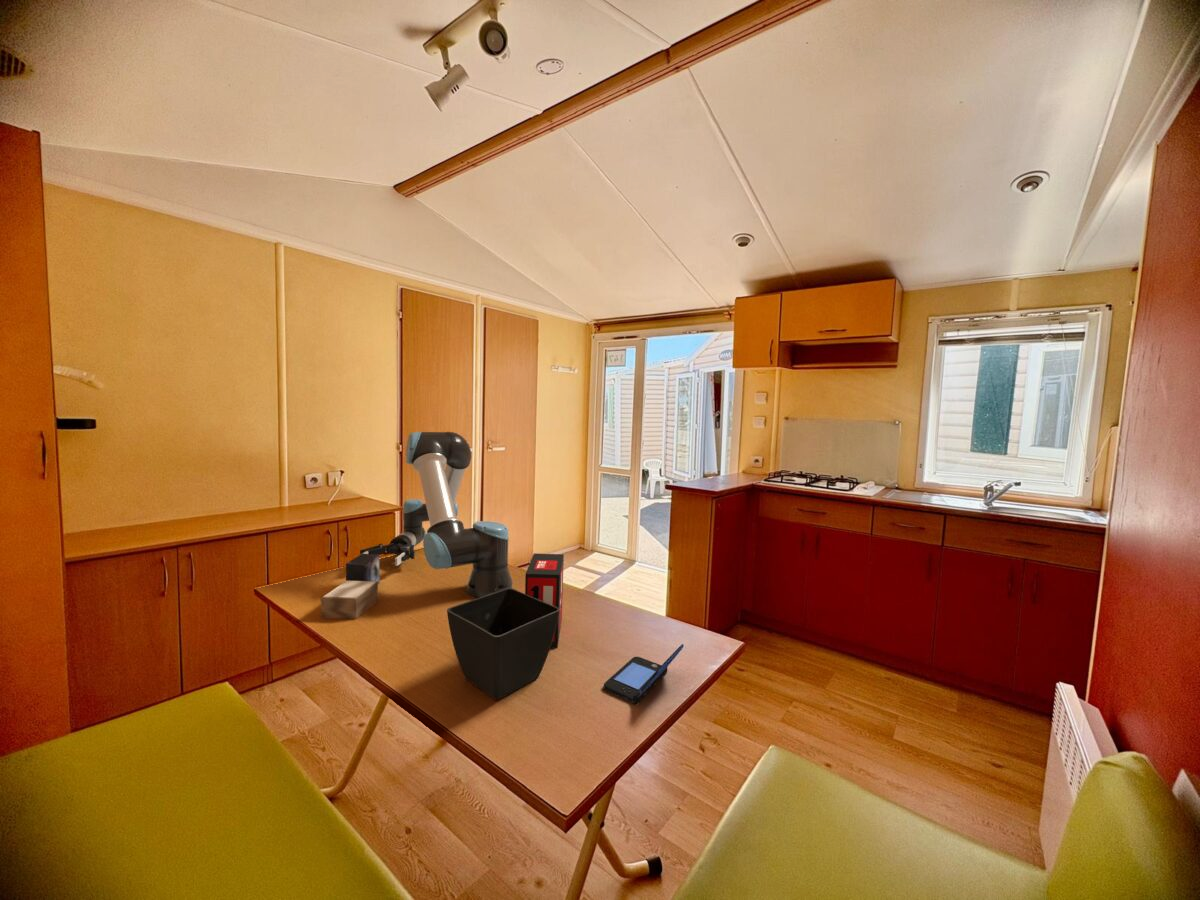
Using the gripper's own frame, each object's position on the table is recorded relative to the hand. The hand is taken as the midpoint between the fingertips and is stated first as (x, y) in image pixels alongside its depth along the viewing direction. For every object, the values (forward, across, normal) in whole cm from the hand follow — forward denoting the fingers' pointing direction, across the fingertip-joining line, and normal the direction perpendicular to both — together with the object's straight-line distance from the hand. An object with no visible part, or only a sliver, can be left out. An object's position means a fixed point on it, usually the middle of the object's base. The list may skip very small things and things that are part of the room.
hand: (377, 561), depth 163 cm
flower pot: (+57, -57, -6) cm, 81 cm away
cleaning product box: (+35, -64, -6) cm, 73 cm away
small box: (+10, 0, -6) cm, 12 cm away
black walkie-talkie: (+57, -90, -6) cm, 107 cm away
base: (+25, -4, -6) cm, 26 cm away
